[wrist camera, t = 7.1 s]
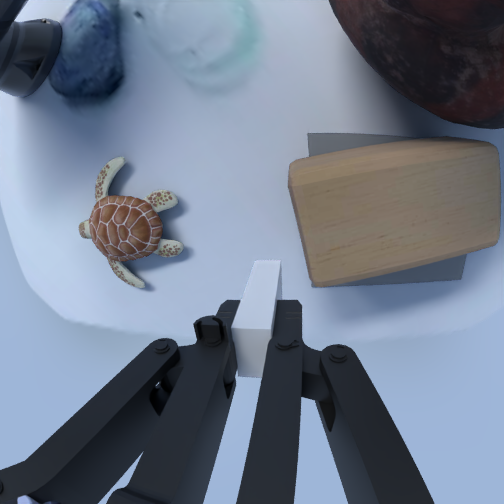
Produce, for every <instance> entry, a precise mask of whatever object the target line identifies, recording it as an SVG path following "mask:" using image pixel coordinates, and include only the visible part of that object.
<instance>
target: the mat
mask: <svg viewBox="0 0 504 504" xmlns="http://www.w3.org/2000/svg"><path fill="white" fill-rule="evenodd" d="M414 139H420V138H411V137H401V136H389V135H374V134H350V133H308V145H309V157H312V156H316V155H321V154H326V153H331V152H336V151H342V150H347V149H353V148H359V147H365V146H371V145H377V144H384V143H391V142H398V141H406V140H414ZM465 259H466V254H463V255H460V256H456V257H452V258H449V259H445V260H441V261H437V262H433V263H430V264H426V265H422V266H418V267H414V268H409V269H405V270H401V271H397V272H392V273H388V274H384V275H379V276H375V277H370V278H366V279H361V280H356V281H352V282H347V283H342V284H337V285H332V286H358V285H382V284H402V283H419V282H434V281H448V280H460V279H461V277H462V273H463V268H464V264H465ZM312 287H316V286H315V285H314V284H313V282H312Z"/></svg>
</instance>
